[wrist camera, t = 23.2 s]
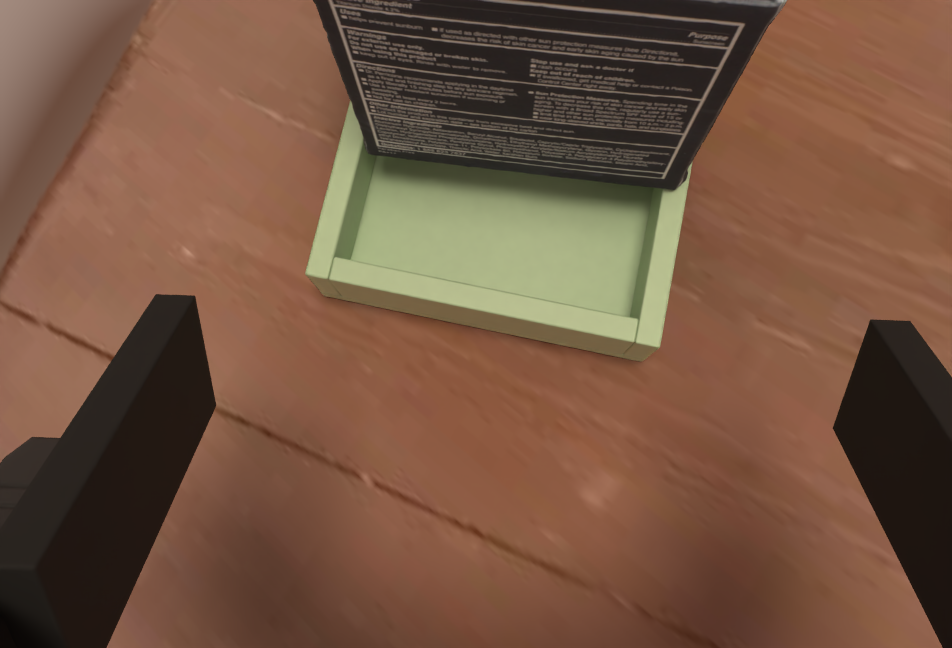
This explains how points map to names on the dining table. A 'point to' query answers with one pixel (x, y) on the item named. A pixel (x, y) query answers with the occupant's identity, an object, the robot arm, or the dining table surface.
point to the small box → (544, 80)
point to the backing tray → (499, 249)
